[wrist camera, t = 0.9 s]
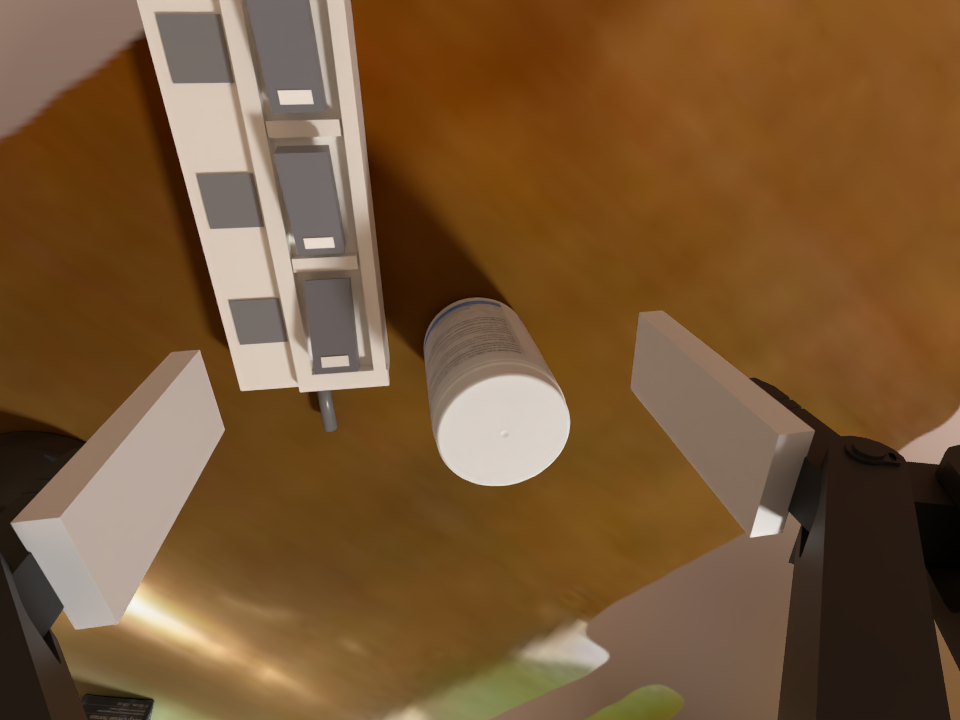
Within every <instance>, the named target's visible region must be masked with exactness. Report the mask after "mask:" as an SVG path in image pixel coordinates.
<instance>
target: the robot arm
mask: <svg viewBox="0 0 960 720" xmlns="http://www.w3.org/2000/svg"><path fill="white" fill-rule="evenodd" d="M630 389H631V390H632V391H633V393H634V394H635V395H636V396H637V398H638V399H639V400H640V401H641V403H642V404H643V405H644V406H645V408H646V409H647V410H648V411H649V412H650V414H651V415H652V416H653V417H654V419H655V420H656V421H657V422H658V424H659V425H660V426H661V427H662V429H663V430H664V431H665V432H666V434H667V435H668V436H669V437H670V439H671V440H672V441H673V442H674V444H675V445H676V446H677V447H678V449H679V450H680V451H681V452H682V454H683V455H684V456H685V457H686V459H687V460H688V461H689V462H690V464H691V465H692V466H693V467H694V468H695V470H696V471H697V472H698V473H699V475H700V476H701V477H702V478H703V480H704V481H705V482H706V483H707V485H708V486H709V487H710V488H711V490H712V491H713V492H714V493H715V495H716V496H717V497H718V498H719V500H720V501H721V502H722V503H723V505H724V506H725V507H726V508H727V510H728V511H729V512H730V513H731V515H732V516H733V517H734V518H735V519H736V521H737V522H738V523H739V524H740V526H741V527H742V528H743V529H744V531H745V532H746V533H747V534H748V536H749V537H757V536H764V535H772V534H778V533H782V532H783V529H784V525H785V522H786V519H787V516H788V513H789V512H790V513H791V514H792V515H793V516H794V517H795V518H796V519H797V520H798V521H799V523H801V527H800V530H799V533H798V536H797V539H796V542H795V545H794V548H793V551H792V554H791V557H790V559H789V563H792V564H794V571H793V580H792V589H791V599H790V608H789V618H788V627H787V637H786V646H785V655H784V664H783V673H782V683H781V692H780V701H779V711H778V720H951V719H950V713H949V707H948V701H947V696H946V689H945V683H944V677H943V671H942V665H941V659H940V653H939V647H938V642H937V635H936V629H935V623H934V620H935V622H936V624H937V626H938V628H939V630H940V632H941V634H942V636H943V638H944V640H945V642H946V644H947V646H948V648H949V650H950V652H951V654H952V656H953V658H954V660H955V662H956V664H957V666H958V668H959V670H960V445H957V446H953V447H949V448H948V449H947V451H946V452H945V454H944V456H943V458H942V460H941V463H940V464H939V465H937V464H926V463H916V462H906V461H905V459H904V457H903V456H901V455H900V454H899V453H898V452H896V451H895V450H894V449H892V448H890V447H888V446H886V445H884V444H882V443H880V442H877V441H873V440H870V439H867V438H862V437H856V436H840V435H838V434H837V433H836V432H834V431H833V430H832V429H830V428H829V427H828V426H826V425H825V424H824V423H822V422H821V421H820V420H818V419H817V418H816V417H814V416H813V415H812V414H811V413H809V412H808V411H807V410H805V409H801V406H800V405H799V404H797V403H796V402H795V401H793V400H790V399H789V397H788V396H787V395H785V394H784V393H783V392H781V391H780V390H779V389H777V388H776V387H775V386H772V385H770V384H768V383H766V382H763V381H761V380H759V379H757V378H748V377H746V376H745V375H744V374H742V373H741V372H740V371H739V370H737V369H736V368H735V367H734V366H732V365H731V364H730V363H729V362H727V361H726V360H725V359H723V358H722V357H721V356H720V355H718V354H717V353H716V352H715V351H713V350H712V349H711V348H709V347H708V346H707V345H706V344H704V343H703V342H702V341H701V340H699V339H698V338H697V337H696V336H694V335H693V334H692V333H690V332H689V331H688V330H687V329H685V328H684V327H683V326H682V325H680V324H679V323H678V322H676V321H675V320H674V319H673V318H671V317H670V316H669V315H668V314H666V313H665V312H664V311H652V312H640V313H639V320H638V328H637V337H636V346H635V354H634V363H633V371H632V380H631V388H630ZM224 431H225V428H224V425H223V422H222V419H221V416H220V413H219V410H218V406H217V403H216V400H215V397H214V394H213V391H212V388H211V384H210V381H209V378H208V375H207V372H206V369H205V365H204V362H203V359H202V356H201V353H200V350H193V351H181V352H171V353H170V354H169V355H168V356H167V357H166V358H165V360H164V361H163V362H162V363H161V364H160V365H159V366H158V367H157V368H156V369H155V370H154V371H153V372H152V373H151V374H150V375H149V376H148V378H147V379H146V380H145V381H144V382H143V383H142V384H141V385H140V386H139V387H138V388H137V389H136V390H135V391H134V392H133V393H132V395H131V396H130V397H129V398H128V399H127V400H126V401H125V402H124V403H123V404H122V405H121V406H120V407H119V408H118V409H117V410H116V411H115V413H114V414H113V415H112V416H111V417H110V418H109V419H108V420H107V421H106V422H105V423H104V424H103V425H102V426H101V427H100V428H99V430H98V431H97V432H96V433H95V434H94V435H93V436H92V437H91V438H90V439H89V440H88V441H87V442H86V443H85V444H84V443H82V442H80V441H77V440H74V439H71V438H68V437H64V436H60V435H56V434H50V433H43V432H12V433H6V434H1V435H0V720H88V719H87V716H86V714H85V711H84V709H83V706H82V703H81V701H80V698H79V695H78V693H77V690H76V687H75V685H74V682H73V679H72V677H71V674H70V672H69V669H68V666H67V664H66V661H65V658H64V656H63V653H62V650H61V648H60V645H59V643H58V640H57V638H56V637H55V635H54V634H53V632H52V631H51V629H50V628H51V626H52V625H53V623H54V622H55V620H56V619H57V617H58V616H59V614H60V613H61V611H62V610H64V612H65V613H66V615H67V617H68V618H69V620H70V622H71V623H72V625H73V626H74V628H75V630H77V629H85V628H92V627H99V626H107V625H114V624H118V623H119V621H120V619H121V617H122V616H123V614H124V612H125V610H126V608H127V607H128V605H129V603H130V601H131V599H132V598H133V596H134V594H135V592H136V590H137V588H138V587H139V585H140V583H141V581H142V579H143V578H144V576H145V574H146V572H147V570H148V569H149V567H150V565H151V563H152V561H153V559H154V558H155V556H156V554H157V552H158V550H159V549H160V547H161V545H162V543H163V541H164V539H165V538H166V536H167V534H168V532H169V530H170V529H171V527H172V525H173V523H174V521H175V520H176V518H177V516H178V514H179V512H180V510H181V509H182V507H183V505H184V503H185V501H186V500H187V498H188V496H189V494H190V492H191V490H192V489H193V487H194V485H195V483H196V481H197V480H198V478H199V476H200V474H201V472H202V471H203V469H204V467H205V465H206V463H207V461H208V460H209V458H210V456H211V454H212V452H213V451H214V449H215V447H216V445H217V443H218V442H219V440H220V438H221V436H222V434H223V432H224Z"/></svg>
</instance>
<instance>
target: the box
mask: <svg viewBox="0 0 960 720" xmlns="http://www.w3.org/2000/svg"><path fill="white" fill-rule="evenodd" d="M81 703H82V706H83V709H84V711H85V714H86V716H87V719H88V720H150V719H151V714H152V709H153V705H154V701H152V700H146V701H144V700H135V699H124V698H112V697H102V696H100V697H99V696H93V695H85V696H84V697H83V699H82V701H81Z"/></svg>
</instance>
